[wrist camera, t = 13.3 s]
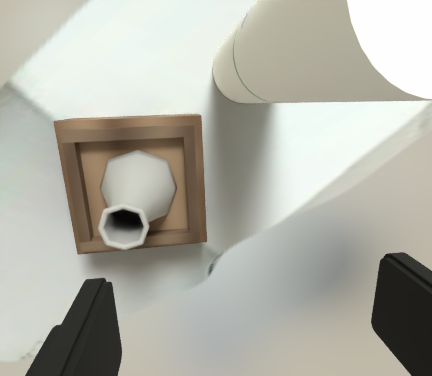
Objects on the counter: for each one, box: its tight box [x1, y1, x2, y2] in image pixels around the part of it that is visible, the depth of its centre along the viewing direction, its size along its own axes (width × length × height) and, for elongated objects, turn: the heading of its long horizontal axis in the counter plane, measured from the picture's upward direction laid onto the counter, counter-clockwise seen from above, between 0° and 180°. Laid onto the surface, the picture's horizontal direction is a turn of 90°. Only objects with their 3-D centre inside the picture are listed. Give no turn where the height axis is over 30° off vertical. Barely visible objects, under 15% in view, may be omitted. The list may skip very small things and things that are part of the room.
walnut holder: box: [54, 114, 207, 254], centre depth 30 cm, size 13×13×6 cm
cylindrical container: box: [213, 0, 432, 103], centre depth 20 cm, size 7×7×25 cm
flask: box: [98, 150, 177, 250], centre depth 24 cm, size 7×7×10 cm
